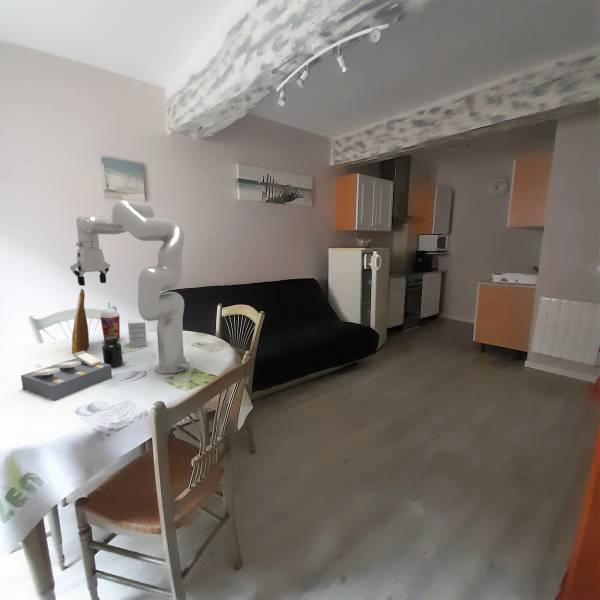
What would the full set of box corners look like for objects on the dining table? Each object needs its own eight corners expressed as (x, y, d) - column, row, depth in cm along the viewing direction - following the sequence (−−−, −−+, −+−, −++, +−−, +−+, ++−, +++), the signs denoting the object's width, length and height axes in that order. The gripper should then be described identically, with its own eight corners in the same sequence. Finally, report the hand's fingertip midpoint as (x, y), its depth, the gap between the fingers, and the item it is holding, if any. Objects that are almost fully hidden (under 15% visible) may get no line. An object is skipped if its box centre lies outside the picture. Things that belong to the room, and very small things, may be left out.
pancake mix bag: (94, 342, 160) (88, 287, 154) (88, 355, 143) (81, 293, 138) (78, 344, 157) (72, 287, 152) (69, 357, 140) (62, 294, 135)
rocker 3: (100, 363, 122) (100, 360, 121) (90, 366, 118) (91, 363, 118) (83, 353, 125) (83, 350, 125) (73, 356, 122) (73, 353, 121)
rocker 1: (60, 370, 108) (59, 367, 108) (48, 374, 105) (47, 371, 105) (43, 371, 113) (42, 368, 113) (32, 375, 109) (31, 372, 109)
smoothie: (119, 338, 168) (116, 300, 164) (123, 342, 162) (120, 303, 158) (101, 340, 163) (97, 302, 159) (104, 345, 156) (100, 305, 153)
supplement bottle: (117, 361, 138) (114, 334, 135) (126, 364, 134) (124, 337, 132) (100, 366, 132) (97, 338, 130) (109, 370, 129) (107, 341, 126)
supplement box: (129, 344, 159) (127, 319, 157) (146, 342, 163) (144, 318, 160) (129, 348, 153) (127, 323, 150) (147, 346, 156) (145, 321, 154)
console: (112, 377, 122) (110, 363, 121) (54, 400, 104) (52, 384, 103) (81, 368, 129) (80, 355, 128) (22, 389, 111) (20, 373, 110)
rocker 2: (81, 363, 115) (80, 360, 115) (70, 367, 112) (69, 364, 111) (65, 364, 119) (64, 361, 119) (54, 368, 116) (53, 365, 116)
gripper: (74, 246, 131) (78, 287, 135) (113, 245, 147) (116, 282, 150) (62, 245, 134) (67, 285, 138) (102, 245, 150) (105, 281, 153)
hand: (92, 284), depth 144 cm, fingers open, 9 cm apart
